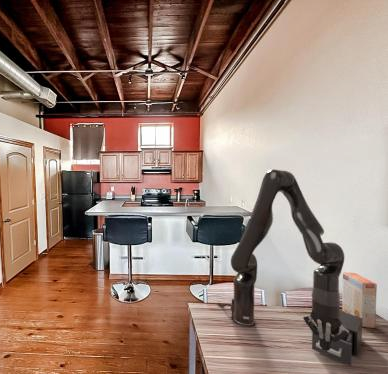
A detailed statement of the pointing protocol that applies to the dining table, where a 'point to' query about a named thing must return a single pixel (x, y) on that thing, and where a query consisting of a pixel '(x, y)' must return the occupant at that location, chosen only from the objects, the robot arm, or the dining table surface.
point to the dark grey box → (353, 329)
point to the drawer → (336, 347)
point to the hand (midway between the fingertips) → (324, 349)
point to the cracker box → (359, 298)
